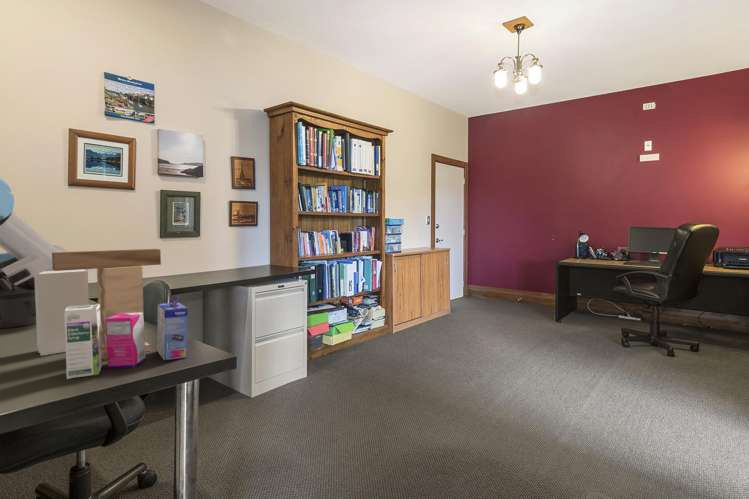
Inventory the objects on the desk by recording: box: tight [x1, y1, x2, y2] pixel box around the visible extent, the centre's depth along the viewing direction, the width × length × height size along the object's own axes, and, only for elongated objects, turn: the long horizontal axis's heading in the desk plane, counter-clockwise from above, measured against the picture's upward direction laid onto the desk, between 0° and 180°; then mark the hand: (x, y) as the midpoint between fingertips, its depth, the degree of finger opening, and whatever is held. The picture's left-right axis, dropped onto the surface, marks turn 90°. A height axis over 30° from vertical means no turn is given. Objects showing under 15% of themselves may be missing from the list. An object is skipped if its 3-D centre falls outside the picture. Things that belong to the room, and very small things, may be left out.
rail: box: [52, 248, 162, 271], centre depth 100 cm, size 4×22×4 cm, turn 136°
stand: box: [96, 266, 151, 361], centre depth 103 cm, size 10×10×22 cm
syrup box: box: [64, 303, 103, 380], centre depth 87 cm, size 6×6×14 cm
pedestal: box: [34, 269, 90, 357], centre depth 104 cm, size 6×10×20 cm, turn 136°
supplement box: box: [105, 312, 147, 369], centre depth 93 cm, size 6×6×12 cm
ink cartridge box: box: [156, 294, 189, 361], centre depth 100 cm, size 10×6×14 cm, turn 37°
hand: (41, 260), depth 91 cm, fingers open, 13 cm apart
